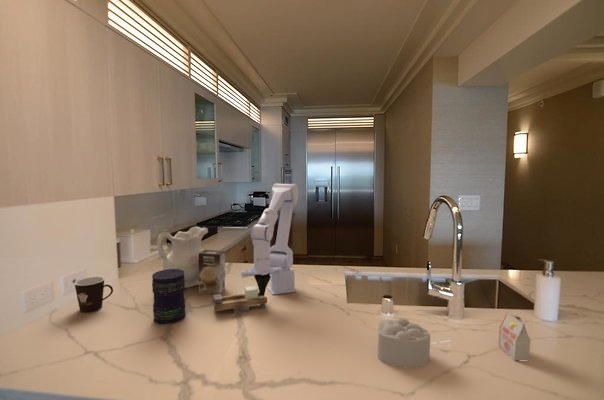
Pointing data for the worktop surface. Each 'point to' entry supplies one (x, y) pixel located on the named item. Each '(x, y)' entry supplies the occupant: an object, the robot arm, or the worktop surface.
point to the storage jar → (168, 296)
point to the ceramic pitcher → (183, 253)
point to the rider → (251, 292)
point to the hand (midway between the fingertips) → (261, 294)
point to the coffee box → (211, 271)
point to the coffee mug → (90, 293)
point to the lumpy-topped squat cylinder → (403, 344)
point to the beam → (237, 302)
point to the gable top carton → (514, 338)
